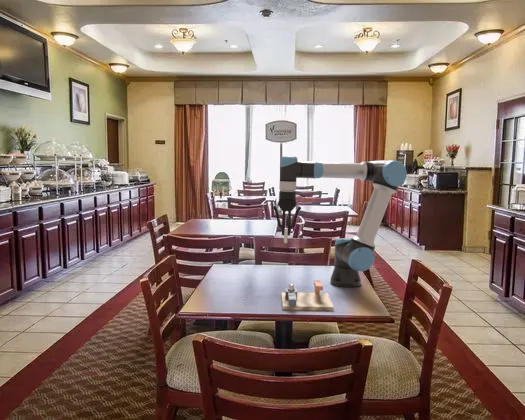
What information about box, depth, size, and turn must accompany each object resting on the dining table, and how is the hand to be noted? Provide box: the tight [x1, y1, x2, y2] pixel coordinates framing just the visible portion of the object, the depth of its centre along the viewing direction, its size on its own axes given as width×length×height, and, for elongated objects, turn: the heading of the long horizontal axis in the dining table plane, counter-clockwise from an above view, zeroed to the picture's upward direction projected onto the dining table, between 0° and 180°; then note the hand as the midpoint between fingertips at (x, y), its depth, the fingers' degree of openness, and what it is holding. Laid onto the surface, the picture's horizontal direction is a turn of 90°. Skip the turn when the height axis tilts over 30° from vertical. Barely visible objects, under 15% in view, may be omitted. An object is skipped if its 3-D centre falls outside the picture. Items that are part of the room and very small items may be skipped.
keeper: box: [313, 280, 324, 295], centre depth 205 cm, size 3×10×6 cm, turn 179°
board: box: [281, 291, 335, 311], centre depth 201 cm, size 21×20×2 cm
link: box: [284, 287, 298, 306], centre depth 199 cm, size 16×5×3 cm, turn 179°
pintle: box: [288, 283, 295, 291], centre depth 204 cm, size 5×5×6 cm
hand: (285, 242), depth 211 cm, fingers closed
